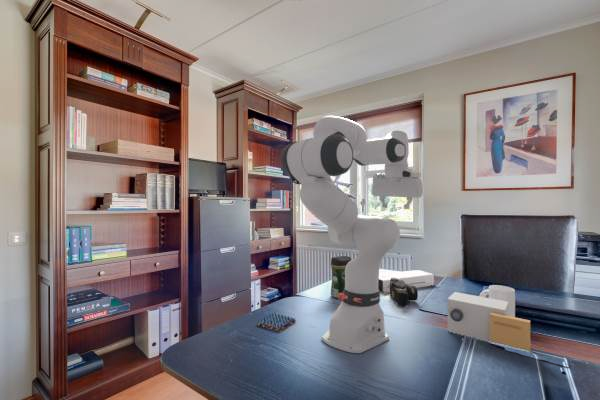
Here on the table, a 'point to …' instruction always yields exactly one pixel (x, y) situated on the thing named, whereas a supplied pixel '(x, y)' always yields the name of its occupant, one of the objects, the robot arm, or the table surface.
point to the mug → (502, 296)
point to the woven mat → (277, 322)
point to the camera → (402, 292)
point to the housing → (472, 314)
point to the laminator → (406, 279)
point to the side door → (510, 331)
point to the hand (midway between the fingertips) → (395, 208)
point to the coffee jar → (338, 274)
